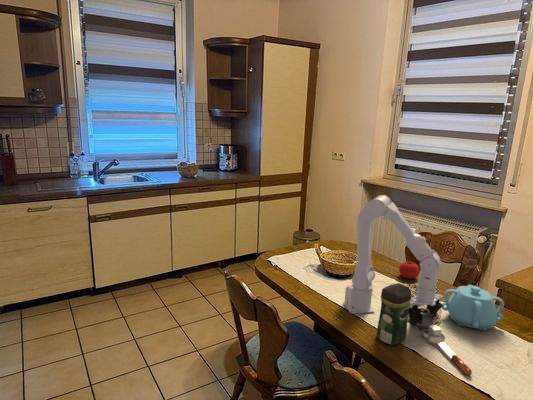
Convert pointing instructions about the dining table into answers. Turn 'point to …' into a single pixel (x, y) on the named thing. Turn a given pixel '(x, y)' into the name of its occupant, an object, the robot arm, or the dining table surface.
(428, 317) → the socket
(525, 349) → the dining table surface
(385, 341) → the coffee jar
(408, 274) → the tomato
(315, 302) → the dining table surface
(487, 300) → the decorative pot
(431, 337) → the ratchet
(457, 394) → the dining table surface
